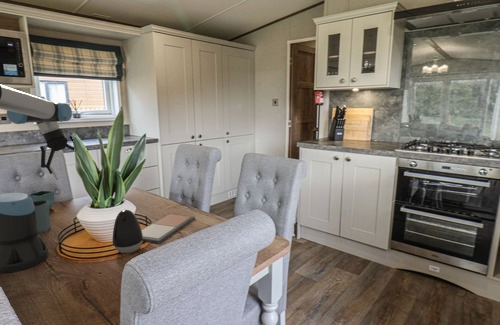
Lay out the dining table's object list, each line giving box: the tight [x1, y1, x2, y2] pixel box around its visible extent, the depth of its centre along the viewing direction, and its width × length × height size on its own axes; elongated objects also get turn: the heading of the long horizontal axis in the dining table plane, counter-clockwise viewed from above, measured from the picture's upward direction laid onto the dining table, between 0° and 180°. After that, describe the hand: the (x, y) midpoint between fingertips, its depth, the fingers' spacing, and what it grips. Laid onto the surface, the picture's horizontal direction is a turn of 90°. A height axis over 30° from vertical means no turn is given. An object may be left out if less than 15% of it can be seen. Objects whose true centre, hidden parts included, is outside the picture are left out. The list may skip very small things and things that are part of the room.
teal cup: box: [33, 200, 52, 234], centre depth 131 cm, size 10×10×12 cm
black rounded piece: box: [112, 209, 143, 254], centre depth 109 cm, size 10×10×15 cm
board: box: [141, 213, 196, 244], centre depth 130 cm, size 26×14×1 cm, turn 159°
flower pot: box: [28, 190, 55, 210], centre depth 157 cm, size 9×9×9 cm
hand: (73, 173), depth 143 cm, fingers open, 13 cm apart
